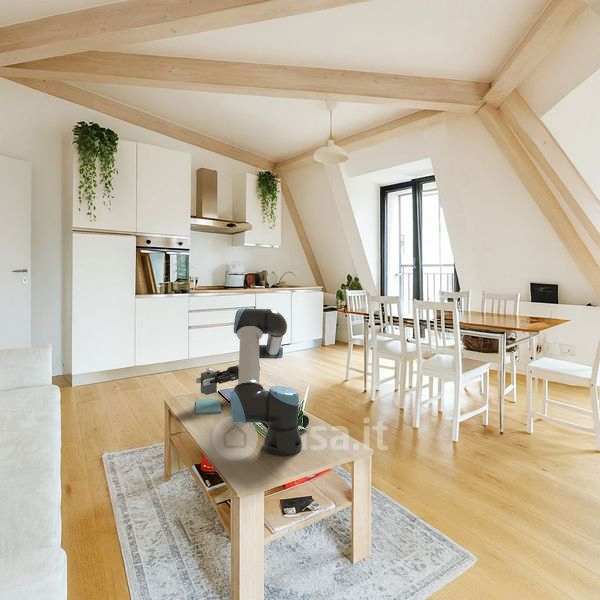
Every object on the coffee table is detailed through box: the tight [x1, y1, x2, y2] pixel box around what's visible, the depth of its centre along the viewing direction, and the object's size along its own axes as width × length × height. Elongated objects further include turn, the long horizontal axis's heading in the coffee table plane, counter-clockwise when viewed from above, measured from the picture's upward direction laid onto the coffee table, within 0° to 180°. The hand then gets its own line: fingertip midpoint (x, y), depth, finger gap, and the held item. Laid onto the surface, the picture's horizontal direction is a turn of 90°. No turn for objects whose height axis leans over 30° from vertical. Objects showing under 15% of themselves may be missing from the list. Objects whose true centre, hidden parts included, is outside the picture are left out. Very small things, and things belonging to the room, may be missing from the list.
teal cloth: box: [195, 398, 222, 415], centre depth 187 cm, size 18×12×1 cm, turn 15°
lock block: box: [200, 367, 218, 396], centre depth 185 cm, size 6×5×12 cm
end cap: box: [303, 413, 310, 429], centre depth 166 cm, size 10×7×7 cm
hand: (200, 381), depth 181 cm, fingers closed on lock block, 5 cm apart
